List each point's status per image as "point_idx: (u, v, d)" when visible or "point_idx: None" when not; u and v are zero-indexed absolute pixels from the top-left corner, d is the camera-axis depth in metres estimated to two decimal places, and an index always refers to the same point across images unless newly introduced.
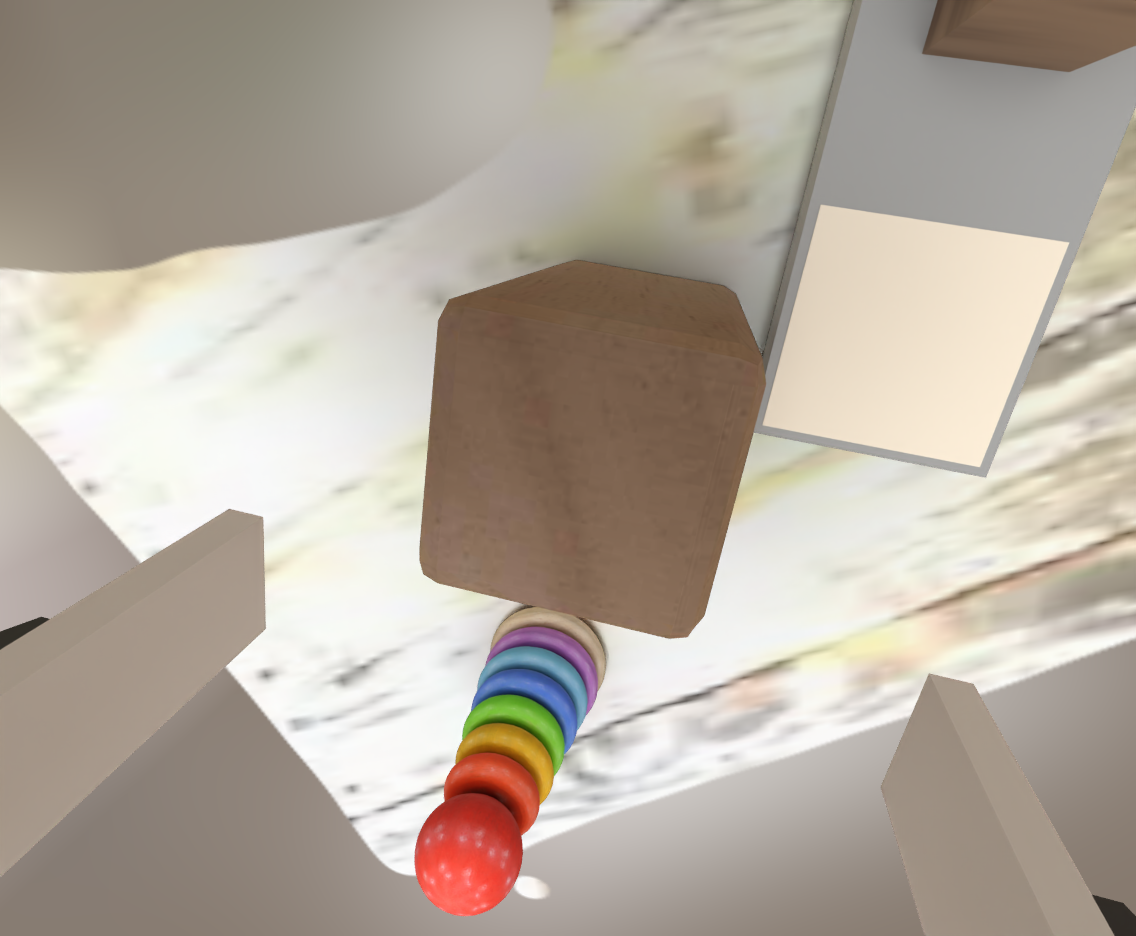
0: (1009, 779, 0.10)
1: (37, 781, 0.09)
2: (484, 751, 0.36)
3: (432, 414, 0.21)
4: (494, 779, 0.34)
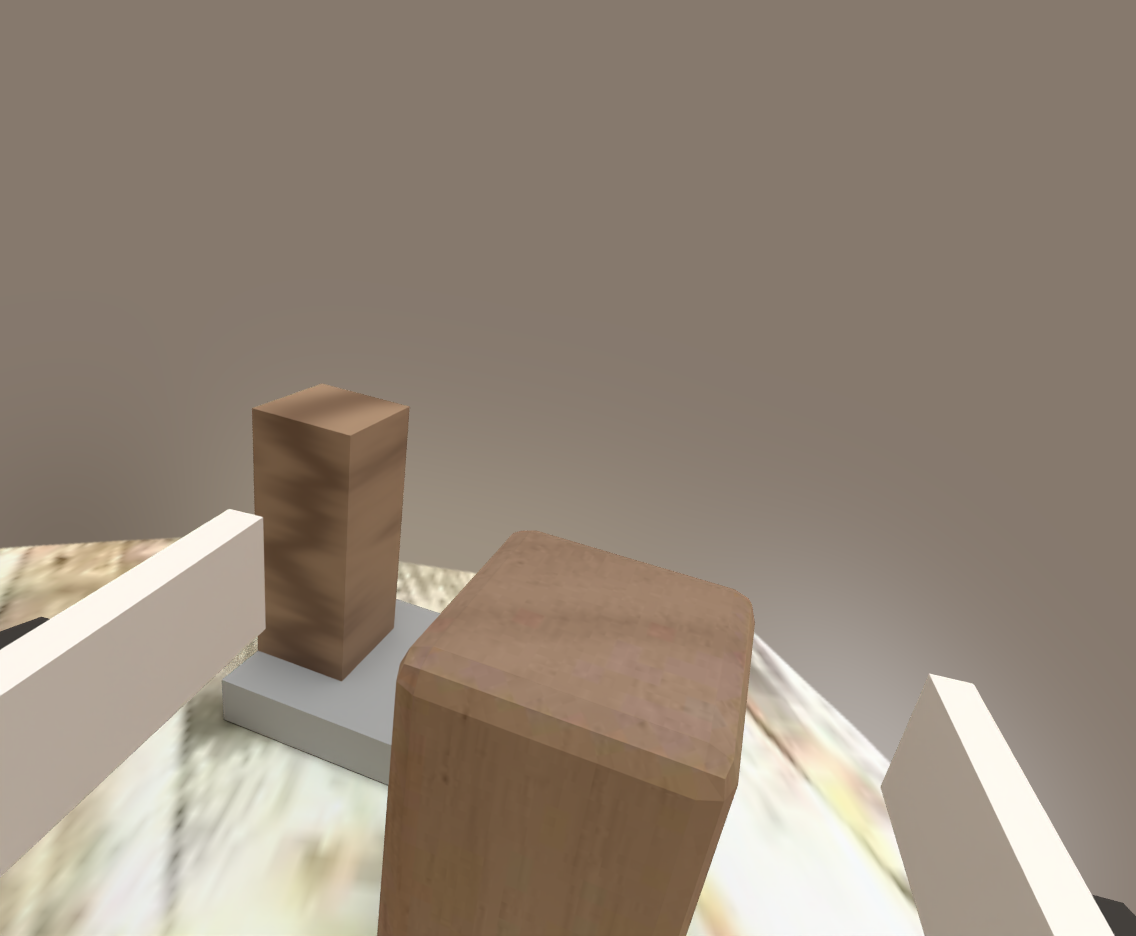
0: (1009, 779, 0.10)
1: (37, 781, 0.09)
2: None
3: (512, 702, 0.18)
4: None
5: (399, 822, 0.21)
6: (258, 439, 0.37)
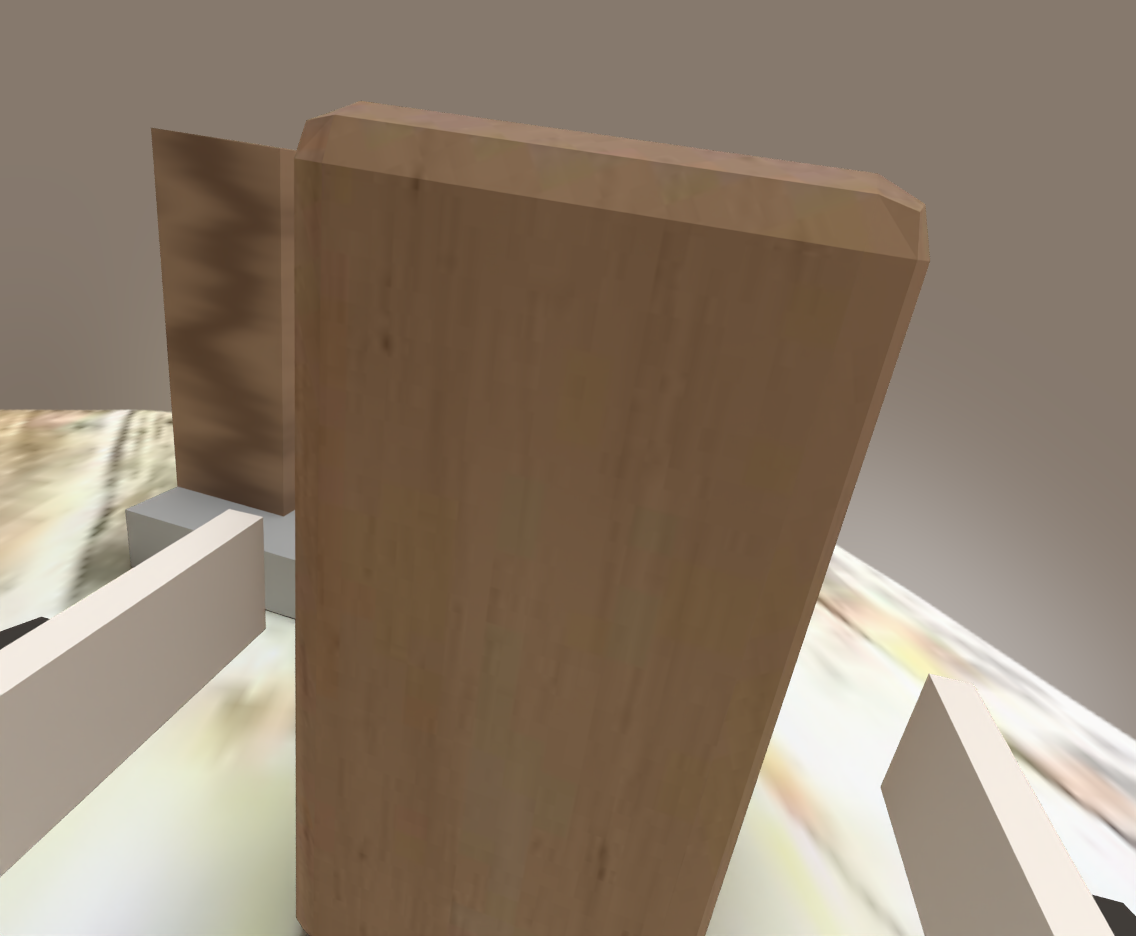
0: (1009, 779, 0.10)
1: (37, 781, 0.09)
2: None
3: (502, 141, 0.10)
4: None
5: (314, 465, 0.12)
6: (161, 174, 0.28)
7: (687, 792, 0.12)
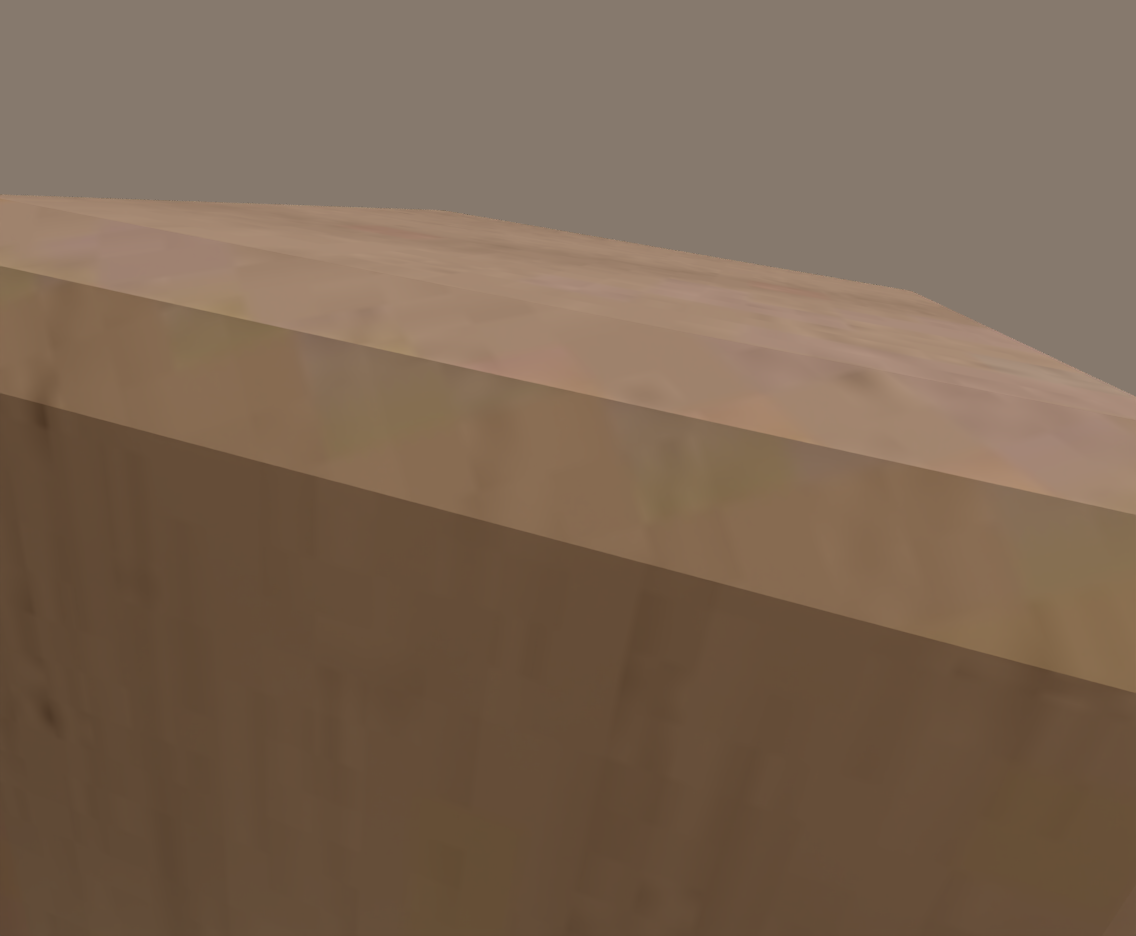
0: None
1: None
2: None
3: (237, 320, 0.04)
4: None
5: None
6: None
7: None
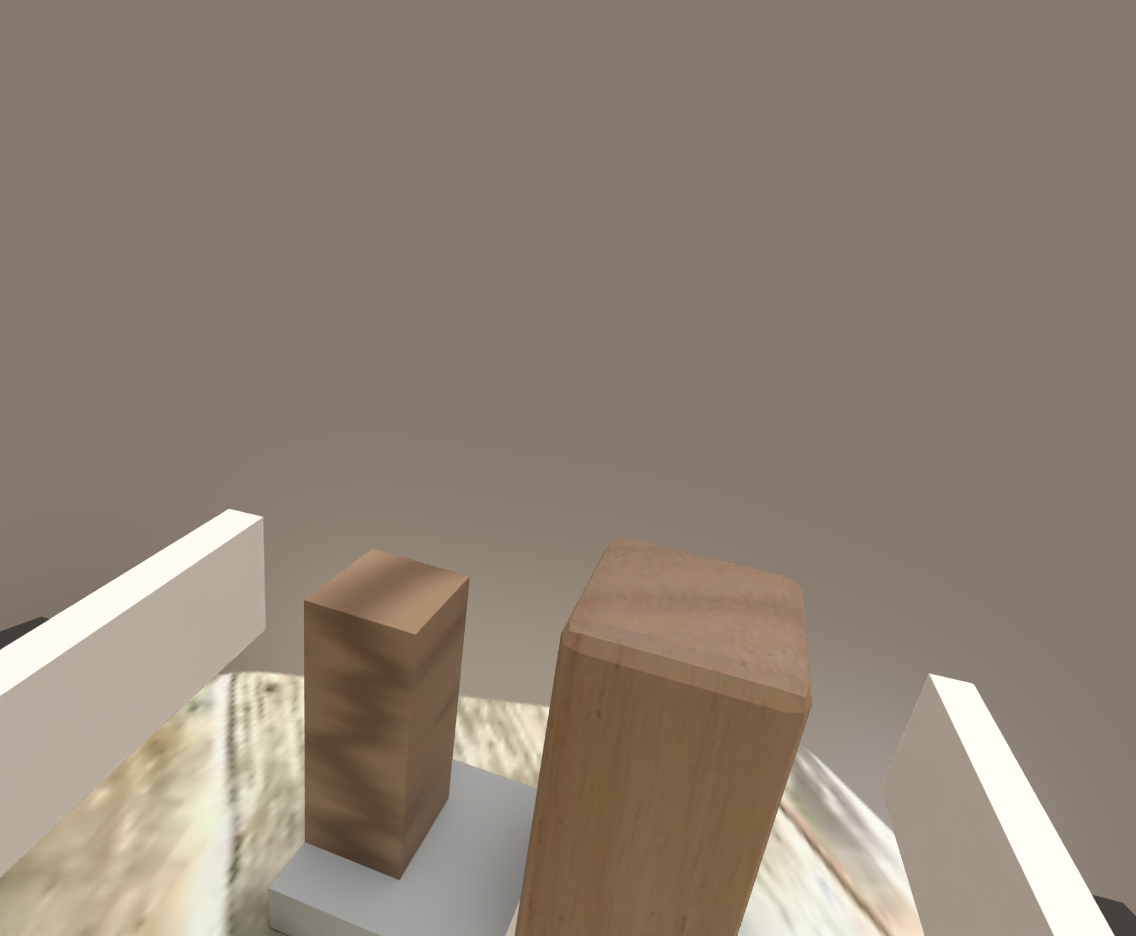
0: (1009, 779, 0.10)
1: (37, 781, 0.09)
2: None
3: (651, 653, 0.26)
4: None
5: (559, 752, 0.29)
6: (310, 631, 0.34)
7: (723, 892, 0.29)
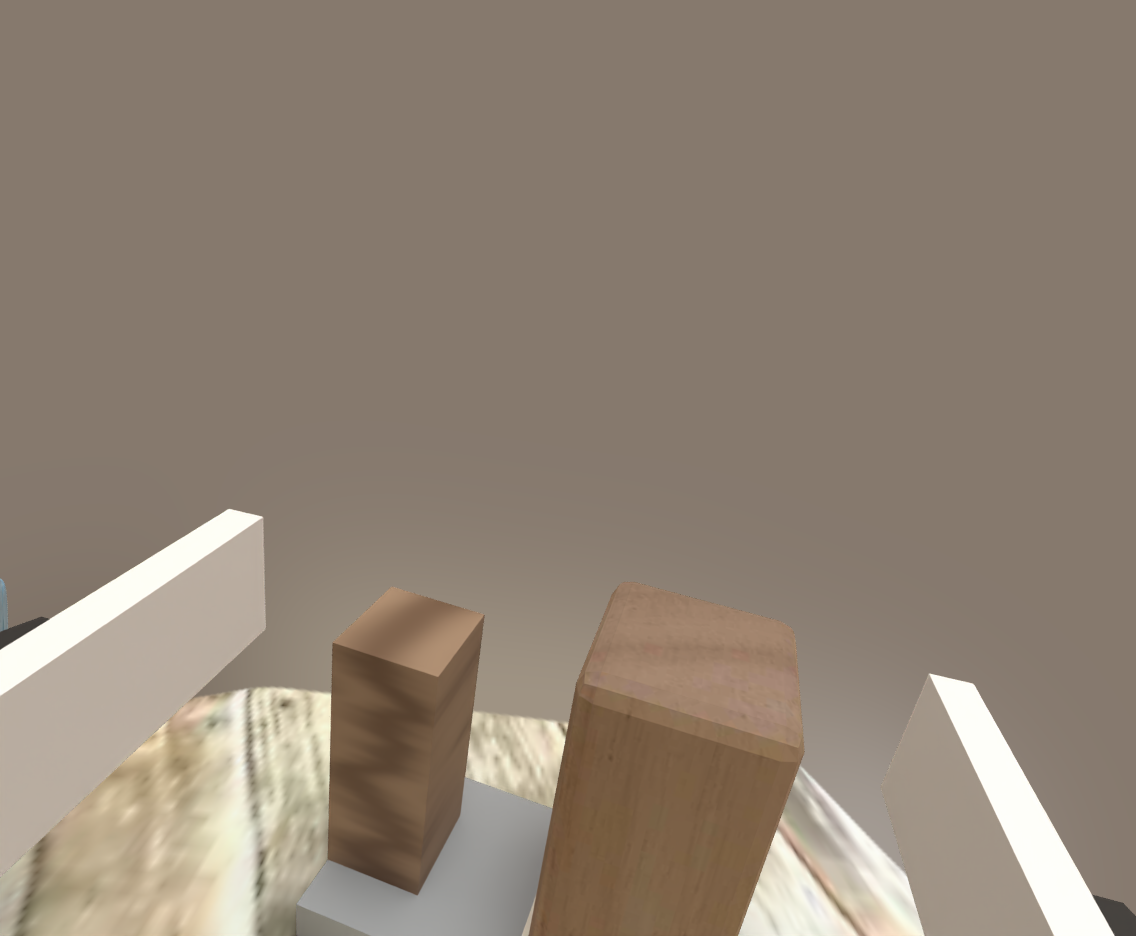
0: (1008, 779, 0.10)
1: (37, 781, 0.09)
2: None
3: (659, 705, 0.29)
4: None
5: (573, 790, 0.31)
6: (338, 671, 0.36)
7: (720, 916, 0.32)
